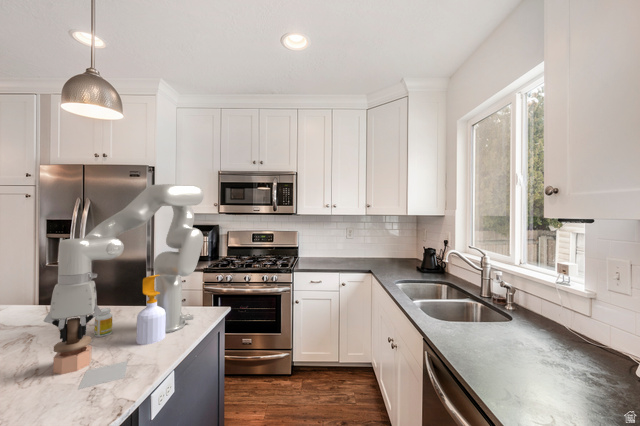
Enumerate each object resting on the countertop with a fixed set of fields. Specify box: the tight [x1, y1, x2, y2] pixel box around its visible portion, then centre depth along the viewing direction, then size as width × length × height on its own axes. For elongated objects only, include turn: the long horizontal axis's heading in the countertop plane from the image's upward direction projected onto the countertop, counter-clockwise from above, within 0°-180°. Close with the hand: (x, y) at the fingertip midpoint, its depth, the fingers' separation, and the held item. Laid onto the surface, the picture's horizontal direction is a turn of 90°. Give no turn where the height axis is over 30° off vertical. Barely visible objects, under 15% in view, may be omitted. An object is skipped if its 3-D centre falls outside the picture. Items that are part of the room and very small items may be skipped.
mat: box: [77, 360, 129, 390], centre depth 77 cm, size 10×10×1 cm
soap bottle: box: [136, 275, 166, 346], centre depth 99 cm, size 9×9×25 cm
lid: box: [53, 316, 92, 353], centre depth 81 cm, size 8×8×8 cm
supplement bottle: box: [93, 307, 113, 338], centre depth 104 cm, size 5×5×10 cm
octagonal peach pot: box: [52, 344, 93, 375], centre depth 81 cm, size 8×8×5 cm
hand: (73, 338), depth 81 cm, fingers closed on lid, 3 cm apart
